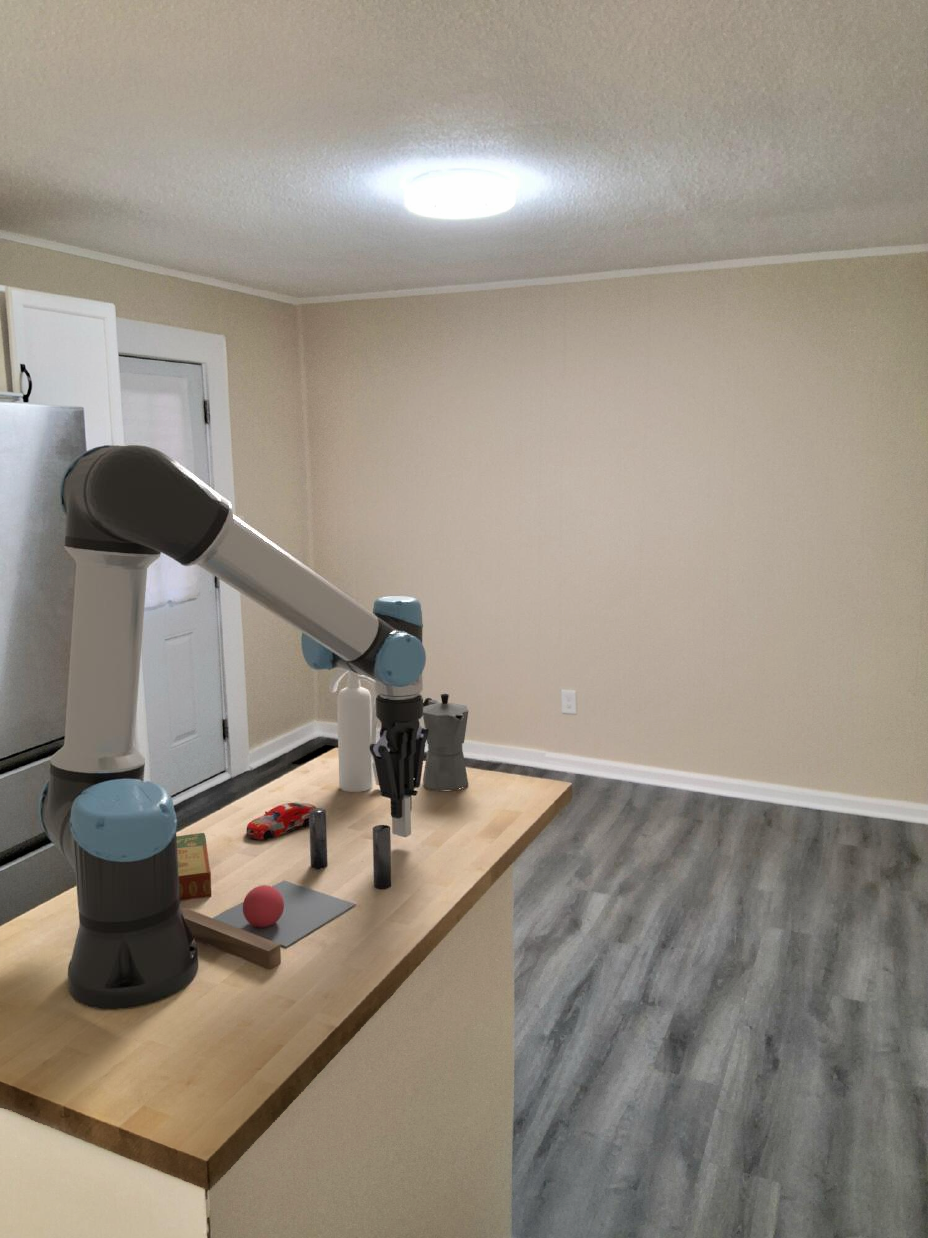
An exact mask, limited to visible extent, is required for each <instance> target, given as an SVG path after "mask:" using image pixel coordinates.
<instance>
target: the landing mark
mask: <svg viewBox="0 0 928 1238" xmlns="http://www.w3.org/2000/svg"><path fill="white" fill-rule="evenodd" d="M271 887H273V888H275V889H277V890H278V891H279V892H280V894H281V895H282V898H283V901H284V910H283V913H282V915H281V917H280V919H279V920H278V921H277V922H276V923H275V924H273V925H271V926H269V927H265V928H259V927H255V926H253V925H251V924H250V923H249V922H248V921H247V920H246V918H245V916H244V914H243V902H244V901H242V902H240V903H238V904H236V905H234V906H233V907H231V908H229V909H226V910H225V911H223V912H221V913H219V914H216V915H215V916H213V917H212V918H213V919H216V920H218V921H221V922H223V923H226V924H229V925H231V926H234V927H236V928H239V929H242V930H244V931H247V932H249V933H252V934H255V935H257V936H260V937H262V938H265V939H268V940H270V941H273V942H276V943H278V944H280V947H283V948H285V949H287V948H288V947H291V946H292V945H293V944H295V943H297V942H298V941H300V940H302V939H303V938H304V937H306V936H308V935H310V934H311V933H313V932H315V931H317V930H318V929H319V928H322V927H323V926H325V925H326V924H328V923H329V922H331V921H333V920H334V919H336V918H338V917H340V916H341V915H343V914H344V913H346V912H348V911H349V910H351V909H352V908H354V907H356V906H357V905H356V904H357V903H354V902H351V901H347V900H345V899H342V898H339V897H335V896H332V895H330V894H327V893H324V892H320V891H318V890H314V889H311V888H308V887H305V886H303V885H299V884H296V883H293V882H291V881H287V880H285V879H284V880H282V881H280V882H278V883H275V884H274V885H272V886H271Z"/></svg>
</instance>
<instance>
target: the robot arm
mask: <svg viewBox="0 0 928 1238" xmlns="http://www.w3.org/2000/svg"><path fill="white" fill-rule="evenodd" d="M58 493H59V494H58V495H59V500H60V505H61V509H62V511H63V513H64V515H65V517H66V518H65V520H66V521H65V532H64V534H65V536H64V550H66V552H67V553H68V554H69V555H70V556H71V558H73V560H74V561H75V563H76V564H75V566H76V567H75V581H74V594H73V595H74V596H73V607H72V608H73V609H72V610H73V611H72V623H71V624H72V626H71V636H70V637H71V638H70V639H71V640H70V641H71V642H70V654H69V657H70V658H69V669H68V681H67V682H68V683H67V684H68V685H67V698H66V700H67V701H66V712H65V713H66V714H65V715H66V717H65V729H64V743H63V745H62V747H61V748H60V749H58V750H57V751H56V752H55V753H54V754H53V755H51V757H50V762H49V763H50V764H49V774H48V775H49V776H48V777H49V778H48V779H47V780H46V782H45V783H44V784H43V787H42V790H41V793H40V796H39V799H38V800H39V802H38V814H39V819H40V820H39V821H40V823H41V828H42V829H43V830H44V833H45V834H46V836H47V838H48V839H49V841H50V842H51V843H52V844H53V845H55V846H56V848H57V850H59V852H60V853H61V854H62V856H63V857H64V858H65V859H66V861H67V862H68V863H69V865H70V866H71V868H72V869H73V871H74V875H75V884H76V885H75V886H76V896H77V898H76V899H77V908H78V921H79V923H78V930H77V933H76V938H75V942H74V946H73V949H72V954H71V958H70V961H69V963H68V966H67V967H68V968H67V982H68V984H67V985H68V992H69V994H70V996H71V998H73V999H74V1001H76V1002H78V1003H79V1004H81V1005H84V1006H87V1007H90V1008H92V1009H93V1008H94V1009H101V1010H125V1009H126V1010H127V1009H133V1008H137V1007H142V1006H146V1005H149V1004H153V1003H156V1002H159V1001H161V1000H164V999H167V998H168V997H170V996H173V995H175V994H176V993H178V992H179V991H181V990H182V989H184V988H185V987H186V986H187V985H189V983H190V982H191V981H193V979H194V978H195V976H196V975H197V973H198V970H199V951H198V946H197V943H196V941H195V939H194V938H193V936H192V933H191V931H190V929H189V927H188V924H187V922H186V920H185V918H184V915H183V913H182V911H181V909H182V908H181V901H180V895H179V875H178V857H177V839H176V836H177V828H178V827H177V826H178V818H177V814H176V811H175V807H174V800H173V798H172V796H171V794H170V793H169V791H168V790H167V789H165V788H164V787H163V786H161V785H160V784H157V783H155V782H152V781H149V780H148V781H147V780H146V781H144V780H145V779H144V778H145V767H146V766H145V765H146V759H145V757H144V756H143V754H142V753H141V752H140V751H138V749H137V748H136V747H135V737H136V726H137V725H136V724H137V712H138V697H139V685H140V672H141V671H140V669H141V658H142V657H141V656H142V644H143V632H144V631H143V629H144V618H145V603H146V593H147V590H146V589H147V578H148V577H147V576H148V568H149V567H150V566H151V565H152V564H153V563H154V562H156V560H158V559H159V558H160V557H161V554H164V555H166V556H168V557H169V558H171V559H173V560H174V561H176V562H177V563H179V564H180V565H182V566H184V567H190V566H191V567H192V566H194V565H197V566H199V567H200V568H202V569H203V570H205V571H206V572H208V573H209V574H211V575H213V576H214V577H216V578H218V580H220V581H222V582H223V583H224V584H226V585H228V586H229V587H231V588H233V589H234V590H235V591H237V592H239V593H241V594H242V595H243V596H245V597H247V598H248V599H250V600H251V601H252V602H254V603H256V604H257V605H259V606H261V607H262V608H264V609H265V610H267V611H268V612H270V613H272V614H273V615H275V616H276V617H278V618H279V619H281V620H283V621H284V622H285V623H286V624H288V625H290V626H292V627H293V628H294V629H296V630H297V631H299V632H301V639H300V641H301V643H300V645H301V652H302V655H303V658H304V661H305V662H306V664H307V665H308V666H309V667H310V668H311V669H313V670H314V671H315V670H317V671H321V670H328V671H330V670H334V669H333V668H344V669H346V670H349V671H352V672H355V673H358V674H359V675H364V676H367V677H369V678H371V679H373V680H374V681H375V691H376V692H377V693H378V695H377V697H376V716H377V719H378V720H379V721H380V723H381V726H380V731H379V739H378V740H377V742H376V744H371V745H370V751H371V753H372V755H373V757H374V760H375V766H376V771H377V776H378V781H379V785H378V786H379V789H380V790H379V791H380V795H381V796H382V797H384V798H388V799H390V817H391V821H392V823H391V825H392V826H391V828H392V829H391V830H392V831H391V832H392V833H391V834H392V835H396V836H398V837H401V838H402V837H403V838H407V837H409V836H411V835H412V814H411V813H412V809H413V807H412V803H413V801H412V796H414V797H417V795H418V790H415V789H418V788H420V786H421V782H422V781H421V780H422V776H423V775H422V772H423V766H424V765H423V764H424V758H425V750H426V744H427V737H428V734H429V729H428V728H425V727H423V726H421V725H420V720H421V719H422V718H423V703H424V696H423V695H422V691H423V690H424V687H423V686H424V685H423V671H424V670H425V667H426V662H427V655H426V654H427V653H426V650H425V649H426V648H425V647H424V644H423V628H424V624H423V612H422V604H421V602H420V600H418V599H417V598H415V597H412V596H404V595H390V596H382V597H378V598H376V599H375V600H374V603H373V608H372V612H371V610H369V609H367V608H366V607H365V606H363V605H362V604H360V603H359V602H357V601H356V600H355V599H353V598H352V597H350V596H349V595H348V594H346V593H345V592H343V591H342V590H340V589H339V588H338V587H336V586H335V585H334V584H333V583H331V582H330V581H328V580H327V579H325V578H324V577H322V576H321V575H319V573H317V572H316V571H315V570H312V569H311V568H310V567H308V566H307V565H305V564H304V563H303V562H301V561H300V560H298V559H297V558H296V557H294V556H293V555H292V554H290V553H289V552H287V551H286V550H284V548H282V547H280V546H279V545H277V544H276V543H274V542H273V541H271V540H270V539H269V538H267V537H266V536H265V535H263V534H262V533H260V532H259V531H258V530H256V529H255V528H253V527H252V526H250V525H249V524H248V523H246V522H245V521H243V520H242V519H241V518H239V517H238V516H236V515H235V514H234V513H233V509H232V507H233V506H232V503H231V501H229V500H228V499H227V498H226V497H224V496H223V495H221V494H220V493H218V492H217V491H216V490H215V489H213V488H212V487H210V486H209V485H208V484H207V483H205V481H203V480H202V479H200V478H199V477H198V476H197V475H195V474H194V473H193V472H191V471H190V470H189V469H187V468H186V467H184V466H183V465H182V464H181V463H180V462H178V461H177V460H175V459H174V458H172V457H170V456H169V455H167V454H166V453H164V452H162V451H161V450H158V449H156V448H153V447H150V446H146V445H138V444H136V445H135V444H133V445H130V444H129V445H113V444H112V445H109V444H105V445H101V446H96V447H93V448H91V449H89V450H87V451H84V452H83V453H81V454H80V455H77V457H75V458H74V459H72V460H71V462H70V463H69V464H68V466H67V467H66V469H65V470H64V472H63V474H62V476H61V478H60V483H59V489H58Z"/></svg>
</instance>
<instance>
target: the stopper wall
mask: <svg viewBox="0 0 928 1238" xmlns="http://www.w3.org/2000/svg"><path fill="white" fill-rule="evenodd" d="M181 911H182V913H183V915H184V918H185V920H186V922H187V924H188V927H189V929H190V931H191V933H192V936H193V938H194V940H196V941H198V942H200V943H203V944H206V945H208V946H210V947H213V948H215V949H217V950H220V951H223V952H225V953H227V954H229V955H232V956H234V957H237V958H240V959H242V960H244V961H247V962H250V963H252V964H254V965H257V966H259V967H262V968H264V969H267V970H271V969H273V968H274V967H277V966H278V965H280V964H282V954H281V953H282V952H281V946H280V944H278V943H276V942H273V941H270V940H268V939H265V938H262V937H260V936H257V935H255V934H252V933H249V932H247V931H244V930H242V929H239V928H236V927H234V926H231V925H229V924H226V923H223V922H221V921H218V920H216V919H213V917H210V916H208V915H205V914H202V913H201V912H197V911H195V910H192V909H189V908H187V907H182V908H181Z"/></svg>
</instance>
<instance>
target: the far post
mask: <svg viewBox="0 0 928 1238" xmlns="http://www.w3.org/2000/svg"><path fill="white" fill-rule="evenodd" d="M327 834H328V832H327V811H326V809H325V808H323V807H316V808H314V809H311V810H309V852H310V855H309V856H310V857H309V858H310V868H311V869H313V870H324V869H326V868H327V867H328V866H329V865H328V864H329V862H328V840H327V839H328V837H327V836H328V835H327Z"/></svg>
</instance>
